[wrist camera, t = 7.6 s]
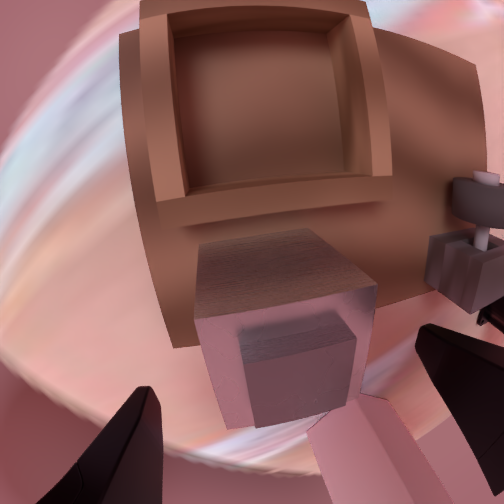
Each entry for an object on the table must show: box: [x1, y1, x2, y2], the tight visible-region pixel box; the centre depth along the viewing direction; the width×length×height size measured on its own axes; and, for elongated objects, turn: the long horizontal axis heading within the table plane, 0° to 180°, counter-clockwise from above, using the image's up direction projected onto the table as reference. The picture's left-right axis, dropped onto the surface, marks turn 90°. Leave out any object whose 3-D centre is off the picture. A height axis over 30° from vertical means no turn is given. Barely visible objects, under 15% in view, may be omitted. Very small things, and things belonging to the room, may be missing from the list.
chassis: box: [119, 0, 504, 348], centre depth 11 cm, size 16×22×6 cm
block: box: [194, 228, 378, 430], centre depth 10 cm, size 5×5×7 cm
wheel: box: [452, 170, 504, 251], centre depth 12 cm, size 6×4×4 cm
